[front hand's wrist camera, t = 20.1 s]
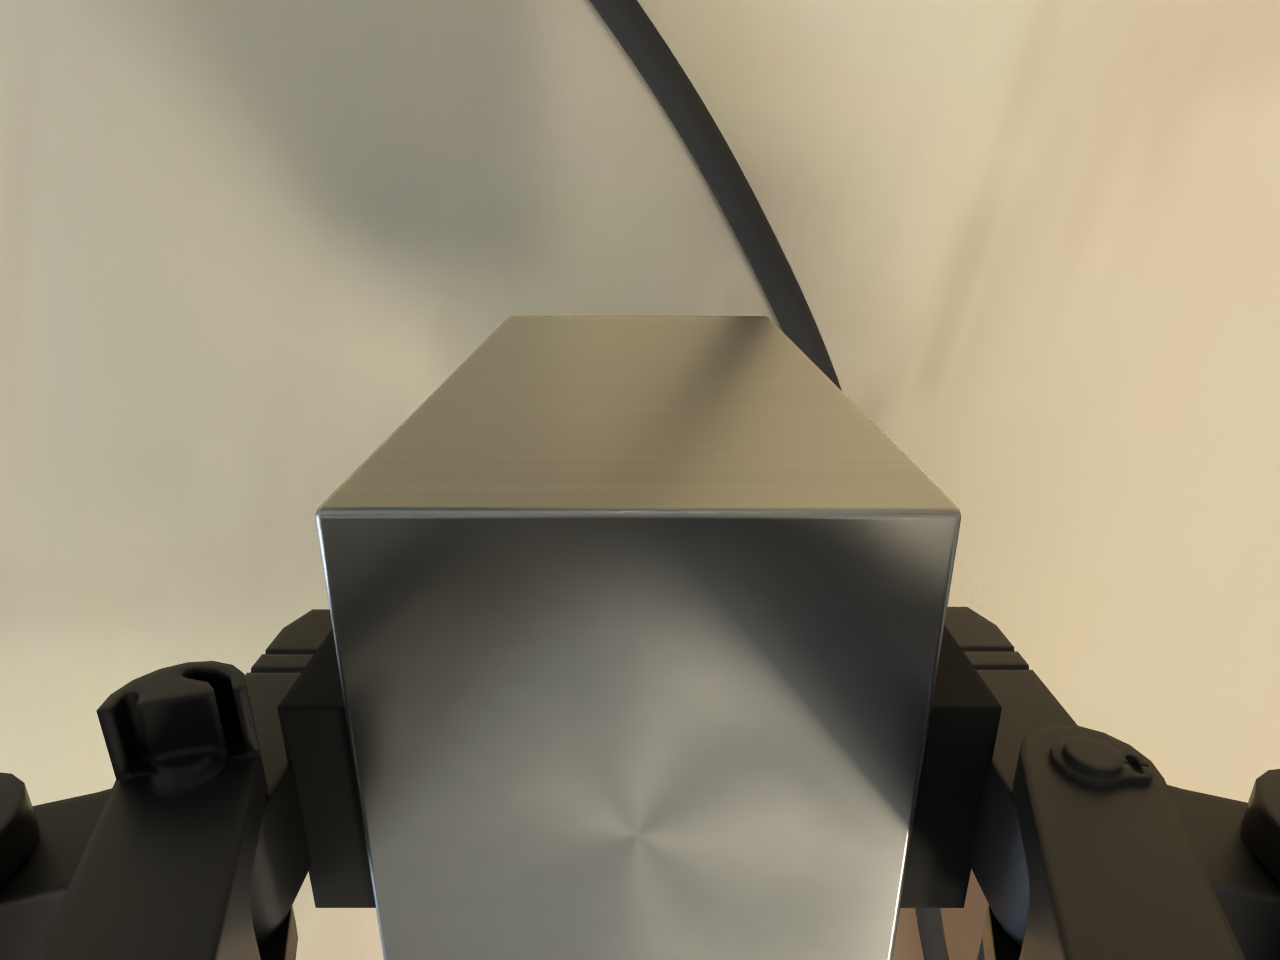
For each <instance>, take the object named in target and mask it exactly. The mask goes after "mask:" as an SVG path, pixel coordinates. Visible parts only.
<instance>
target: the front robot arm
mask: <svg viewBox="0 0 1280 960" xmlns="http://www.w3.org/2000/svg"><path fill="white" fill-rule="evenodd" d="M590 1H591V2H592V4H593V5H594V7H595V8H596V9H597V11H598V12H599V14H600V15H601V16H602V18H603V19H604V21H605V22H606V23H607V25H608V26H609V28H610V29H611V31H612V32H613V33H614V35H615V36H616V38H617V39H618V41H619V42H620V43H621V45H622V46H623V48H624V49H625V51H626V52H627V54H628V55H629V56H630V58H631V59H632V61H633V62H634V64H635V65H636V67H637V68H638V70H639V71H640V73H641V74H642V76H643V77H644V79H645V80H646V82H647V83H648V85H649V86H650V88H651V89H652V91H653V92H654V94H655V95H656V97H657V98H658V100H659V101H660V103H661V105H662V106H663V108H664V109H665V111H666V112H667V114H668V116H669V117H670V119H671V120H672V122H673V124H674V125H675V127H676V128H677V130H678V132H679V133H680V135H681V137H682V138H683V140H684V142H685V143H686V145H687V147H688V148H689V150H690V152H691V153H692V155H693V157H694V159H695V160H696V162H697V164H698V166H699V167H700V169H701V171H702V173H703V174H704V176H705V178H706V180H707V181H708V183H709V185H710V187H711V189H712V191H713V192H714V194H715V196H716V198H717V200H718V201H719V203H720V205H721V207H722V209H723V211H724V213H725V215H726V216H727V218H728V220H729V222H730V224H731V226H732V228H733V230H734V232H735V234H736V235H737V237H738V239H739V241H740V243H741V245H742V247H743V249H744V251H745V253H746V255H747V257H748V259H749V261H750V263H751V265H752V267H753V269H754V271H755V273H756V275H757V277H758V279H759V281H760V283H761V285H762V287H763V289H764V291H765V293H766V295H767V297H768V299H769V301H770V303H771V306H772V308H773V310H774V312H775V314H776V316H777V318H778V321H779V323H780V325H781V327H782V330H783V332H784V334H785V335H786V336H787V337H788V338H789V339H790V340H791V341H792V342H793V343H794V344H795V345H796V346H797V347H798V348H799V349H800V350H801V351H802V352H803V353H804V354H805V355H806V356H807V357H808V358H809V359H810V360H811V361H812V362H813V363H814V364H815V365H816V366H817V367H818V368H819V369H820V370H821V371H822V372H823V373H824V374H825V375H826V376H827V377H828V378H829V379H830V380H831V381H832V382H833V383H834V384H835V385H836V386H837V387H838V388H839V389H840V390H841V387H840V385H839V382H838V379H837V376H836V373H835V371H834V368H833V365H832V363H831V360H830V357H829V355H828V352H827V350H826V347H825V345H824V342H823V340H822V337H821V335H820V332H819V330H818V327H817V325H816V323H815V320H814V318H813V316H812V313H811V311H810V309H809V306H808V304H807V302H806V300H805V297H804V295H803V293H802V291H801V289H800V286H799V284H798V282H797V280H796V278H795V276H794V274H793V271H792V269H791V267H790V265H789V263H788V261H787V259H786V257H785V255H784V253H783V251H782V249H781V246H780V244H779V242H778V240H777V238H776V236H775V234H774V232H773V230H772V228H771V226H770V224H769V222H768V220H767V218H766V216H765V214H764V212H763V210H762V208H761V206H760V205H759V203H758V201H757V199H756V197H755V195H754V193H753V191H752V189H751V187H750V185H749V183H748V181H747V179H746V178H745V176H744V174H743V172H742V170H741V168H740V166H739V165H738V163H737V161H736V159H735V157H734V155H733V153H732V152H731V150H730V148H729V146H728V144H727V143H726V141H725V139H724V137H723V136H722V134H721V132H720V130H719V129H718V127H717V125H716V123H715V122H714V120H713V118H712V116H711V115H710V113H709V111H708V110H707V108H706V106H705V105H704V103H703V101H702V100H701V98H700V96H699V95H698V93H697V92H696V90H695V88H694V87H693V85H692V83H691V82H690V80H689V79H688V77H687V75H686V74H685V72H684V71H683V69H682V68H681V66H680V64H679V63H678V61H677V60H676V58H675V57H674V55H673V54H672V52H671V51H670V49H669V47H668V46H667V44H666V43H665V41H664V40H663V38H662V37H661V35H660V34H659V32H658V31H657V29H656V28H655V26H654V25H653V23H652V22H651V20H650V19H649V17H648V16H647V15H646V13H645V12H644V10H643V9H642V7H641V6H640V4H639V3H638V1H637V0H590ZM841 391H842V390H841ZM97 714H98V718H99V721H100V725H101V728H102V731H103V735H104V738H105V742H106V745H107V749H108V752H109V756H110V759H111V763H112V766H113V769H114V773H115V776H116V781H115V784H114V786H113V788H112V789H108V790H105V791H101V792H97V793H93V794H88V795H83V796H79V797H74V798H69V799H65V800H60V801H55V802H51V803H46V804H41V805H37V806H32V804H31V801H30V798H29V795H28V793H27V790H26V787H25V784H24V782H22V781H21V780H19V779H18V778H17V777H15V776H14V775H13V774H8V773H0V960H295V959H296V950H297V941H298V935H297V929H296V922H295V917H294V912H293V907H292V904H293V902H294V900H295V898H296V896H297V894H298V892H299V890H300V887H301V885H302V883H303V881H304V879H305V877H306V875H307V873H308V871H309V875H310V880H311V886H312V891H313V896H314V901H315V906H316V908H376V904H375V898H374V891H373V885H372V879H371V872H370V866H369V859H368V853H367V846H366V840H365V833H364V827H363V820H362V814H361V808H360V801H359V795H358V788H357V782H356V775H355V769H354V762H353V756H352V749H351V743H350V737H349V730H348V724H347V717H346V711H345V704H344V698H343V691H342V685H341V678H340V672H339V665H338V659H337V653H336V646H335V640H334V633H333V627H332V620H331V614H330V610H311V611H310V612H308V613H306V614H305V615H303V616H302V617H300V618H299V619H297V620H295V621H294V622H292V623H291V624H289V625H288V626H286V627H284V628H283V629H282V630H281V632H280V633H279V634H278V635H277V637H276V638H275V639H274V640H273V642H272V643H271V644H270V645H269V647H268V648H267V649H266V654H262V655H261V657H260V658H259V659H258V660H257V661H256V663H255V664H254V665H253V666H252V668H251V673H247V674H246V675H244V673H242V672H241V671H240V670H239V669H237V668H236V667H235V666H233V665H230V664H225V663H220V662H215V661H206V662H188V663H183V664H179V665H175V666H171V667H167V668H162V669H159V670H156V671H154V672H152V673H149V674H147V675H144V676H142V677H140V678H137V679H135V680H133V681H131V682H129V683H128V684H126V685H125V686H123V687H122V688H120V689H119V690H117V691H116V692H114V693H113V694H111V695H110V696H109V697H108V698H107V699H106V701H105V702H104V703H103V704H102V705H101V706H100V707H99V709H98V710H97ZM971 868H972V870H973V872H974V874H975V877H976V878H977V881H978V883H979V885H980V887H981V889H982V891H983V893H984V895H985V897H986V899H987V901H988V907H987V912H986V917H985V922H984V926H983V931H982V936H981V941H980V946H979V951H978V955H977V960H1280V769H1276V770H1268V771H1267V772H1266V773H1264V774H1263V775H1261V776H1260V777H1259V778H1257V779H1256V781H1255V784H1254V787H1253V790H1252V793H1251V796H1250V799H1249V802H1248V803H1246V802H1241V801H1236V800H1232V799H1227V798H1222V797H1217V796H1213V795H1208V794H1203V793H1198V792H1194V791H1189V790H1184V789H1180V788H1177V787H1173V786H1169V785H1167V784H1166V782H1165V780H1164V778H1163V777H1162V775H1161V774H1160V773H1159V771H1158V770H1157V769H1156V767H1155V766H1154V765H1153V763H1152V762H1151V761H1150V760H1149V759H1148V758H1146V757H1145V756H1144V755H1142V754H1141V753H1140V752H1138V751H1137V750H1136V749H1134V748H1133V747H1132V746H1130V745H1128V744H1126V743H1124V742H1122V741H1120V740H1118V739H1116V738H1114V737H1112V736H1109V735H1107V734H1105V733H1102V732H1099V731H1095V730H1091V729H1088V728H1084V727H1080V726H1078V725H1077V724H1076V723H1075V722H1074V720H1073V719H1072V718H1071V717H1070V716H1069V714H1068V713H1067V712H1066V711H1065V709H1064V708H1063V707H1062V706H1061V704H1060V703H1059V702H1058V701H1057V700H1056V698H1055V697H1054V696H1053V695H1052V693H1051V692H1050V691H1049V690H1048V688H1047V687H1046V686H1045V685H1044V684H1043V682H1042V681H1041V680H1040V679H1039V677H1038V676H1037V675H1036V674H1035V672H1034V671H1033V670H1029V665H1028V664H1027V663H1026V661H1025V660H1024V659H1023V658H1022V656H1021V655H1020V654H1019V653H1018V652H1014V647H1013V645H1012V644H1011V643H1010V642H1009V640H1008V639H1007V638H1006V637H1005V636H1004V634H1003V633H1002V632H1001V631H1000V629H999V628H998V627H997V626H996V625H995V624H993V623H992V622H990V621H988V620H987V619H985V618H984V617H982V616H980V615H979V614H977V613H976V612H974V611H973V610H971V609H969V608H968V607H947V610H946V617H945V623H944V630H943V636H942V643H941V649H940V655H939V662H938V668H937V675H936V681H935V687H934V694H933V700H932V707H931V713H930V719H929V726H928V732H927V739H926V745H925V751H924V758H923V764H922V771H921V777H920V783H919V790H918V796H917V803H916V809H915V815H914V822H913V828H912V835H911V841H910V847H909V854H908V860H907V867H906V873H905V879H904V886H903V892H902V899H901V905H900V908H915V909H916V915H917V922H918V928H919V933H920V939H921V944H922V950H923V954H924V959H925V960H949V957H948V952H947V947H946V942H945V936H944V930H943V924H942V917H941V910H940V908H964V903H965V898H966V893H967V888H968V882H969V877H970V872H971Z"/></svg>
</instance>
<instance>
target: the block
mask: <svg viewBox="0 0 1280 960" xmlns="http://www.w3.org/2000/svg"><path fill="white" fill-rule="evenodd" d="M315 516H316V523H317V530H318V536H319V543H320V549H321V556H322V562H323V569H324V575H325V582H326V588H327V594H328V601H329V607H330V614H331V620H332V627H333V633H334V640H335V646H336V653H337V659H338V665H339V672H340V678H341V685H342V691H343V698H344V704H345V711H346V717H347V724H348V730H349V737H350V743H351V749H352V756H353V762H354V769H355V775H356V782H357V788H358V795H359V801H360V808H361V814H362V820H363V827H364V833H365V840H366V846H367V853H368V859H369V866H370V872H371V879H372V885H373V891H374V898H375V904H376V911H377V917H378V924H379V930H380V937H381V943H382V950H383V956H384V960H892V956H893V950H894V944H895V937H896V930H897V924H898V918H899V911H900V905H901V899H902V892H903V886H904V879H905V873H906V867H907V860H908V854H909V847H910V841H911V835H912V828H913V822H914V815H915V809H916V803H917V796H918V790H919V783H920V777H921V771H922V764H923V758H924V751H925V745H926V739H927V732H928V726H929V719H930V713H931V707H932V700H933V694H934V687H935V681H936V675H937V668H938V662H939V655H940V649H941V643H942V636H943V630H944V623H945V617H946V610H947V604H948V598H949V591H950V585H951V578H952V572H953V566H954V559H955V553H956V546H957V540H958V534H959V527H960V521H961V514H960V510H959V509H958V508H957V507H956V506H955V505H954V504H953V503H952V502H951V500H950V499H949V498H948V497H947V496H946V495H945V494H944V493H943V492H942V491H941V490H940V489H939V488H938V487H937V486H936V485H935V484H934V483H933V482H932V481H931V480H930V479H929V478H928V477H927V476H926V475H925V474H924V473H923V472H922V471H921V470H920V469H919V468H918V467H917V466H916V465H915V464H914V463H913V462H912V461H911V460H910V459H909V458H908V457H907V456H906V455H905V454H904V453H903V452H902V451H901V450H900V449H899V448H898V447H897V446H896V445H895V444H894V443H893V442H892V441H891V440H890V439H889V438H888V437H887V436H886V435H885V434H884V433H883V432H882V431H881V430H880V429H879V428H878V427H877V426H876V425H875V424H874V423H873V422H872V421H871V420H870V419H869V418H868V417H867V416H866V415H865V414H864V413H863V412H862V411H861V410H860V409H859V408H858V407H857V406H856V405H855V404H854V403H853V402H852V401H851V400H850V399H849V398H848V397H847V396H846V395H845V394H844V393H843V392H842V391H841V390H840V389H839V388H838V387H837V386H836V385H835V384H834V383H833V382H832V381H831V380H830V379H829V378H828V377H827V376H826V375H825V374H824V373H823V372H822V371H821V370H820V369H819V368H818V367H817V366H816V365H815V364H814V363H813V362H812V361H811V360H810V359H809V358H808V357H807V356H806V355H805V354H804V353H803V352H802V351H801V350H800V349H799V348H798V347H797V346H796V345H795V344H794V343H793V342H792V341H791V340H790V339H789V338H788V337H787V336H786V335H785V334H784V333H783V332H782V331H781V330H780V329H779V328H778V327H777V326H776V325H775V324H774V323H773V322H772V321H771V320H770V319H769V318H768V317H766V316H511V317H509V318H508V319H507V320H506V321H505V322H504V323H503V324H502V325H501V326H500V327H499V328H498V329H497V330H496V331H495V332H494V333H493V334H492V335H491V336H490V337H489V338H488V339H487V340H486V341H485V342H484V343H483V344H482V345H481V346H480V347H479V348H478V349H477V350H476V351H475V352H474V353H473V354H472V355H471V356H470V357H469V358H468V359H467V360H466V361H465V362H464V363H463V364H462V365H461V366H460V367H459V368H458V369H457V370H456V371H455V372H454V373H453V374H452V375H451V376H450V377H449V378H448V379H447V380H446V381H445V382H444V383H443V384H442V385H441V386H440V387H439V388H438V389H437V390H436V391H435V392H434V393H433V394H432V395H431V396H430V397H429V398H428V399H427V400H426V401H425V402H424V403H423V404H422V405H421V406H420V407H419V408H418V409H417V410H416V411H415V412H414V413H413V414H412V415H411V416H410V417H409V418H408V419H407V420H406V421H405V422H404V423H403V424H402V425H401V426H400V427H399V428H398V429H397V430H396V431H395V432H394V433H393V434H392V435H391V436H390V437H389V438H388V439H387V440H386V441H385V442H384V443H383V444H382V445H381V446H380V447H379V448H378V449H377V450H376V451H375V452H374V453H373V454H372V455H371V456H370V457H369V458H368V459H367V460H366V461H365V462H364V463H363V464H362V465H361V466H360V467H359V468H358V469H357V470H356V471H355V472H354V473H353V474H352V475H351V476H350V477H349V478H348V479H347V480H346V481H345V482H344V483H343V484H342V485H341V486H340V487H339V488H338V489H337V490H336V491H335V492H334V493H333V494H332V495H331V496H330V497H329V498H328V499H327V500H326V501H325V502H324V503H323V504H322V505H321V506H320V507H319V508H318V509H317V512H316V515H315Z"/></svg>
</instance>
